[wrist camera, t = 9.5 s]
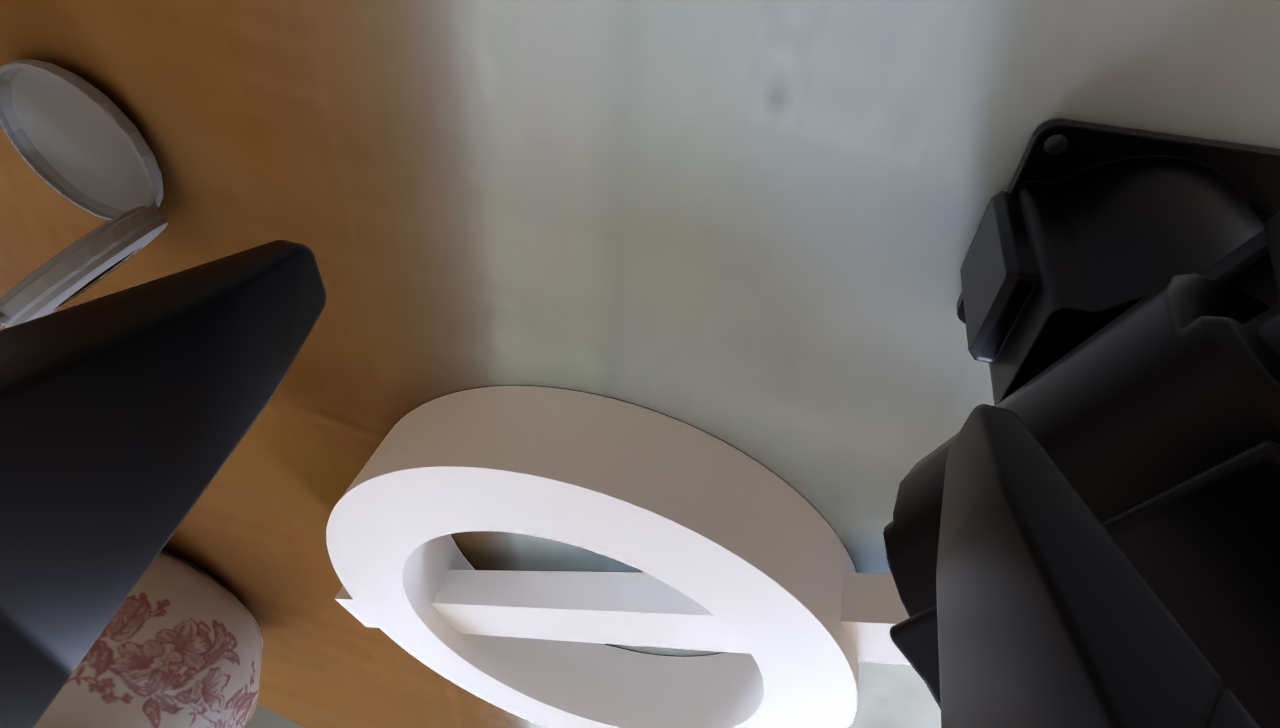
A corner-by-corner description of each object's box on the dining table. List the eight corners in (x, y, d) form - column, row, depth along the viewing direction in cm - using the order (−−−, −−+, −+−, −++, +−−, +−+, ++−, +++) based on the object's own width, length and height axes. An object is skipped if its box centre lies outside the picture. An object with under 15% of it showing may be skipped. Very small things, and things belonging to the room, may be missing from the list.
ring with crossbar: (361, 564, 48) (320, 627, 45) (403, 286, 28) (336, 361, 25) (717, 727, 50) (703, 800, 46) (991, 571, 30) (1002, 677, 27)
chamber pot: (323, 689, 72) (175, 933, 58) (79, 583, 71) (-134, 804, 57) (319, 581, 52) (93, 910, 38) (-19, 432, 52) (-385, 710, 37)
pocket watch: (-8, 20, 25) (-364, 135, 18) (207, 131, 26) (-56, 283, 19) (45, 194, 31) (-209, 333, 24) (220, 281, 32) (23, 441, 25)
